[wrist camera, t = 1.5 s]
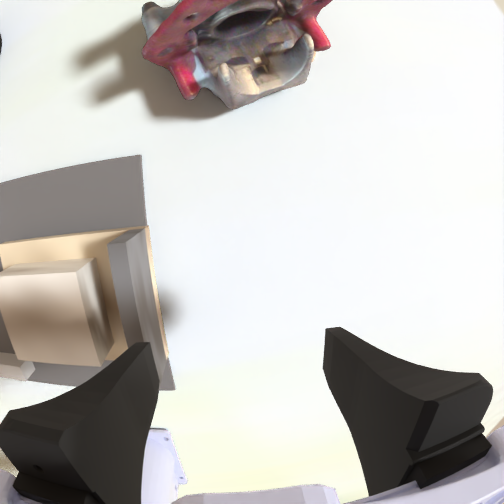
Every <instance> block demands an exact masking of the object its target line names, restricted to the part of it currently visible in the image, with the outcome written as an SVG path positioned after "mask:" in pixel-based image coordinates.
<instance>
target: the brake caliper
mask: <svg viewBox="0 0 504 504" xmlns="http://www.w3.org/2000/svg"><path fill="white" fill-rule="evenodd" d="M331 1H332V0H179V1H178V2H177V3H176V4H175V5H174V6H172V7H168V8H162V7H160V6H158V5H157V4H155V3H154V2H147V3H145V4H144V5H143V7H142V23H143V26H144V28H145V30H146V34H147V40H148V41H147V42H146V44H145V46H144V47H143V49H142V55H143V57H144V59H147V60H149V61H150V62H153V63H155V64H157V65H159V66H162V67H164V68H166V69H168V70H169V71H170V72H171V73H172V75H173V76H174V78H175V80H176V83H177V86H178V88H179V90H180V92H181V94H182V96H183V97H184V98H185V99H186V100H192V99H194V98H195V97H196V96H197V94H198V93H199V91H200V89H201V88H202V87H206V88H209V89H210V90H211V91H212V92H213V94H214V95H216V96H217V97H220V98H221V100H222V101H223V102H224V104H225V105H226V106H227V107H228V108H230V109H236V108H239V107H242V106H244V105H247V104H250V103H252V102H254V101H256V100H258V99H260V98H262V97H264V96H266V95H268V94H270V93H273V92H276V91H280V90H284V89H287V88H291V87H294V86H297V85H300V84H303V83H305V82H306V80H307V77H308V74H309V71H310V65H311V62H313V60H314V57H315V54H316V51H324V50H327V49H329V48H330V47H331V45H330V42H329V40H328V38H327V37H326V35H325V33H324V32H323V30H322V29H321V27H320V26H319V25H318V23H317V21H316V17H317V15H318V14H319V12H320V10H321V9H322V8H323V7H325V6H326V5H327V4H329V3H330V2H331Z"/></svg>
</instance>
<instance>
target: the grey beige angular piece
mask: <svg viewBox="0 0 504 504" xmlns="http://www.w3.org/2000/svg"><path fill="white" fill-rule="evenodd" d="M0 257H1V262H2V266H3V271H1V272H0V310H1V314H2V317H3V320H4V323H5V326H6V329H7V332H8V335H9V338H10V340H11V343H12V346H13V348H14V351H15V354H16V356H17V359H18V360H24V361H33V362H42V363H52V364H64V365H79V366H98V367H101V366H102V364H103V362H104V360H115V359H116V358H118V357H119V356H120V355H121V354H122V353H124V352H125V351H126V350H127V349H128V348H129V347H131V346H132V345H133V344H135V343H136V342H150V344H151V348H152V353H153V357H154V361H155V365H156V369H157V372H158V376H159V380H160V383H159V389H160V385H161V381H162V377H163V373H164V369H165V365H166V361H167V358H168V354H169V351H168V346H167V341H166V336H165V331H164V326H163V320H162V315H161V309H160V303H159V297H158V291H157V285H156V278H155V271H154V264H153V256H152V249H151V241H150V232H149V226H139V227H128V228H118V229H109V230H99V231H90V232H81V233H72V234H63V235H55V236H47V237H39V238H31V239H23V240H16V241H8V242H4V243H2V244H0ZM158 393H159V392H158Z"/></svg>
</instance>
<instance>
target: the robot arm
mask: <svg viewBox="0 0 504 504" xmlns="http://www.w3.org/2000/svg"><path fill="white" fill-rule="evenodd" d="M323 370H324V374H325V377H326V380H327V383H328V386H329V388H330V390H331V392H332V395H333V397H334V399H335V401H336V403H337V405H338V407H339V409H340V411H341V413H342V415H343V417H344V419H345V421H346V423H347V425H348V427H349V429H350V432H351V434H352V437H353V440H354V443H355V446H356V449H357V452H358V456H359V459H360V462H361V466H362V469H363V473H364V477H365V481H366V484H367V489H368V493H369V497H366V498H363V499H359V500H356V501H352V502H348V503H344V504H502V503H503V502H504V425H503V426H502V427H500V428H498V429H497V430H495V431H493V432H492V433H491V434H490V435H489V436H488V437H487V438H485V436H484V435H483V434H482V433H483V432H484V430H485V428H484V426H483V425H482V424H481V423H480V422H481V420H482V419H483V417H484V415H485V413H486V411H487V409H488V407H489V405H490V402H491V399H492V395H493V388H492V385H491V384H490V383H489V382H488V381H487V380H486V379H485V378H484V377H483V376H481V375H480V374H479V373H464V372H451V371H444V370H438V369H433V368H429V367H425V366H421V365H417V364H414V363H411V362H408V361H405V360H403V359H400V358H397V357H395V356H393V355H390V354H388V353H386V352H384V351H382V350H380V349H378V348H376V347H374V346H372V345H371V344H369V343H367V342H365V341H364V340H362V339H360V338H358V337H357V336H355V335H353V334H352V333H350V332H348V331H347V330H345V329H343V328H341V327H335V328H327V329H326V332H325V347H324V360H323ZM159 383H160V380H159V376H158V372H157V369H156V365H155V361H154V357H153V353H152V348H151V344H150V342H136V343H135V344H133V345H132V346H131V347H129V348H128V349H127V350H126V351H125V352H124V353H122V354H121V355H120V356H119V357H118V358H116V359H115V360H114V361H113V362H112V363H110V364H109V365H108V366H107V367H105V368H104V369H103V370H101V371H100V372H99V373H97V374H96V375H95V376H93V377H92V378H91V379H89V380H88V381H86V382H84V383H83V384H81V385H79V386H78V387H76V388H74V389H72V390H70V391H68V392H66V393H64V394H62V395H60V396H58V397H56V398H53V399H50V400H48V401H45V402H42V403H39V404H36V405H32V406H29V407H24V408H20V409H15V410H10V411H9V412H8V414H7V415H6V417H5V418H4V420H3V421H2V423H1V424H0V447H1V449H2V451H3V452H4V453H5V455H6V456H7V457H8V458H9V460H10V461H11V462H12V464H13V465H14V466H15V467H16V469H17V470H18V471H19V473H18V475H17V477H15V476H14V475H12V474H11V473H9V472H7V471H4V470H2V469H0V504H340V502H339V499H338V496H337V493H336V490H335V489H334V488H331V487H327V486H324V485H320V484H313V485H298V486H292V487H285V488H278V489H269V490H260V491H248V492H232V493H202V494H193V495H186V496H184V497H182V498H180V499H178V486H179V484H187V482H188V480H187V477H186V475H185V472H184V470H183V467H182V464H181V462H180V459H179V456H178V453H177V450H176V448H175V445H174V442H173V439H172V436H171V433H170V432H169V431H168V430H155V429H150V426H151V422H152V419H153V415H154V411H155V408H156V404H157V399H158V392H159ZM165 437H166V438H165ZM177 499H178V500H177Z"/></svg>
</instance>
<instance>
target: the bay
mask: <svg viewBox="0 0 504 504" xmlns="http://www.w3.org/2000/svg"><path fill="white" fill-rule="evenodd" d="M139 226H147V220H146V210H145V199H144V187H143V173H142V156H141V155H135V156H128V157H121V158H115V159H108V160H102V161H96V162H91V163H85V164H80V165H75V166H70V167H65V168H60V169H55V170H51V171H46V172H42V173H38V174H33V175H29V176H25V177H21V178H17V179H14V180H10V181H6V182H2V183H0V244H2V243H4V242H8V241H16V240H23V239H31V238H39V237H47V236H55V235H63V234H72V233H81V232H90V231H99V230H109V229H118V228H128V227H139ZM1 271H3V266H2V262H1V257H0V272H1ZM113 361H114V360H104V362H103V364H102V366H101V367H98V366H79V365H64V364H52V363H42V362H33V361H24V360H18V359H17V356H16V354H15V351H14V348H13V346H12V343H11V340H10V338H9V335H8V332H7V329H6V326H5V323H4V320H3V317H2V314H1V310H0V377H5V378H10V379H16V380H21V381H27V380H28V381H35V382H42V383H49V384H57V385H66V386H76V387H78V386H79V385H81V384H83V383H84V382H86V381H88V380H89V379H91V378H92V377H93V376H95V375H96V374H97V373H99V372H100V371H101V370H103V369H104V368H105V367H107V366H108V365H109V364H110V363H112V362H113ZM159 390H175V385H174V380H173V376H172V372H171V367H170V363H169V358H167V361H166V365H165V369H164V373H163V377H162V381H161V385H160V389H159Z"/></svg>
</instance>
